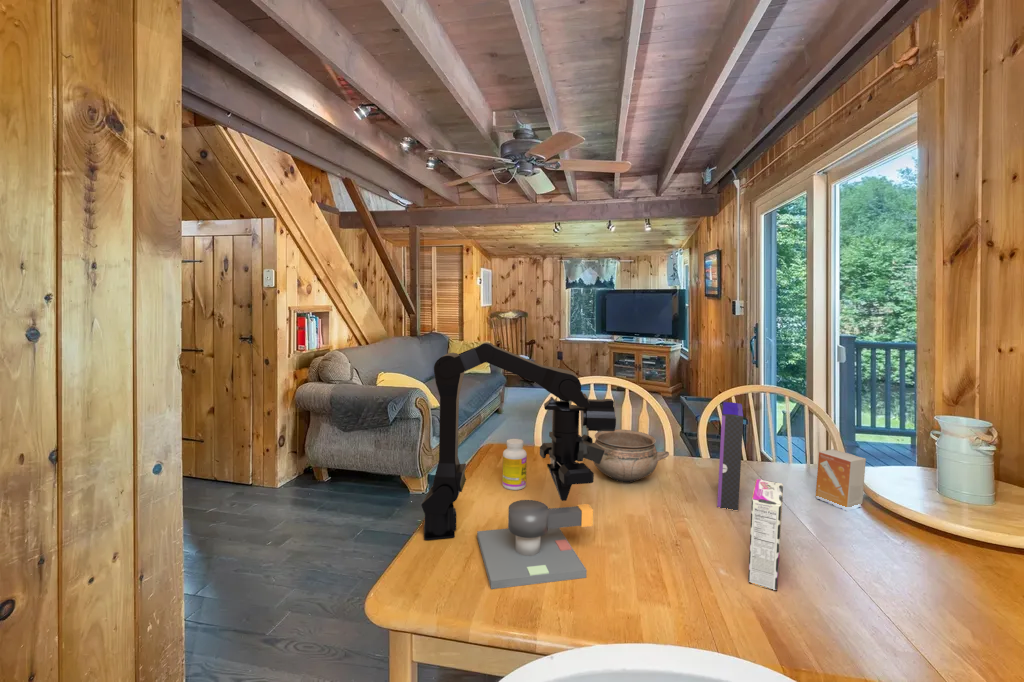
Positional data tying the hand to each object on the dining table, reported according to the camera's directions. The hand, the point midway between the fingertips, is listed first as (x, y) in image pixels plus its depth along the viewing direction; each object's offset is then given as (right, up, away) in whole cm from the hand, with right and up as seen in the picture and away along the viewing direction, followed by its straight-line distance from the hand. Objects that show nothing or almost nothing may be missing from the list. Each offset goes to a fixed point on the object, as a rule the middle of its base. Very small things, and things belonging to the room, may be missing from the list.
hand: (563, 500), depth 98 cm
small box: (+74, -8, +20) cm, 77 cm away
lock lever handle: (-3, -3, -7) cm, 8 cm away
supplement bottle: (-11, -6, +28) cm, 31 cm away
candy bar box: (+37, -10, -12) cm, 40 cm away
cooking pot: (+22, -6, +35) cm, 42 cm away
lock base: (-8, -9, -7) cm, 14 cm away
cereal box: (+47, -7, +23) cm, 53 cm away
